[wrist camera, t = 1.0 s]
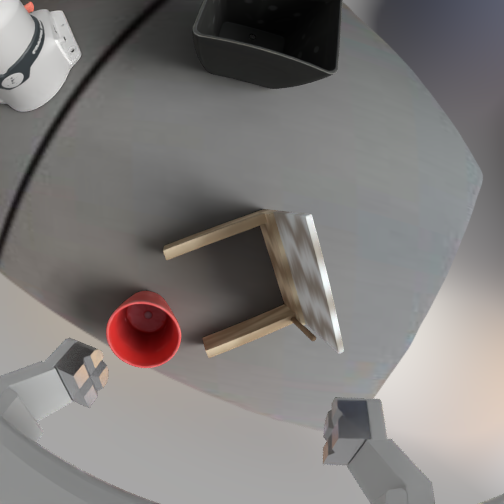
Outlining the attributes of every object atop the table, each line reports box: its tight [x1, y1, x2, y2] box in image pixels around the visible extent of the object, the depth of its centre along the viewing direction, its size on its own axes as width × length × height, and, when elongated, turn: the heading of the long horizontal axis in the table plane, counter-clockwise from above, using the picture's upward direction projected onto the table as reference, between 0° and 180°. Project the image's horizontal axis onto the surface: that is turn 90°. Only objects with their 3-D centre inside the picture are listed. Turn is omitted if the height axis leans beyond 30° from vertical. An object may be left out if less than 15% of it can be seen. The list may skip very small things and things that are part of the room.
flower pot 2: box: [192, 0, 342, 89], centre depth 36 cm, size 19×19×17 cm
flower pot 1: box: [106, 291, 181, 368], centre depth 43 cm, size 11×11×10 cm
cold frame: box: [163, 209, 344, 358], centre depth 42 cm, size 19×18×18 cm
